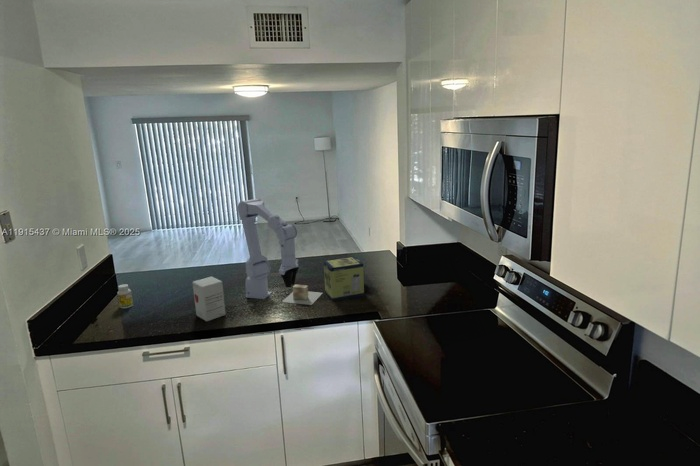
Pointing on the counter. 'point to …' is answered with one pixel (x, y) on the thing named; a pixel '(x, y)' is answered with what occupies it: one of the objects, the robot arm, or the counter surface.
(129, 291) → the supplement bottle
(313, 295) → the grey rubber mat
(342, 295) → the protein box
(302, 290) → the maple block
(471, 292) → the counter surface
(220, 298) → the supplement box
